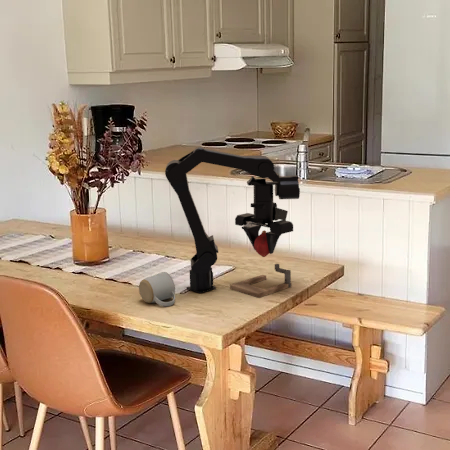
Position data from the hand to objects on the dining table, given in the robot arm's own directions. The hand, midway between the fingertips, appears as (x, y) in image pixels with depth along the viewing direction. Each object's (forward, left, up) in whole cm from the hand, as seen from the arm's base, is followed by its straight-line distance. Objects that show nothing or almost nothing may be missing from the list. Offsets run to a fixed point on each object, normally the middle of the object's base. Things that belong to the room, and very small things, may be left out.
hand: (263, 251), depth 208 cm
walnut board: (-1, 0, -11) cm, 11 cm away
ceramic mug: (-30, +12, -11) cm, 34 cm away
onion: (0, 0, -2) cm, 2 cm away
